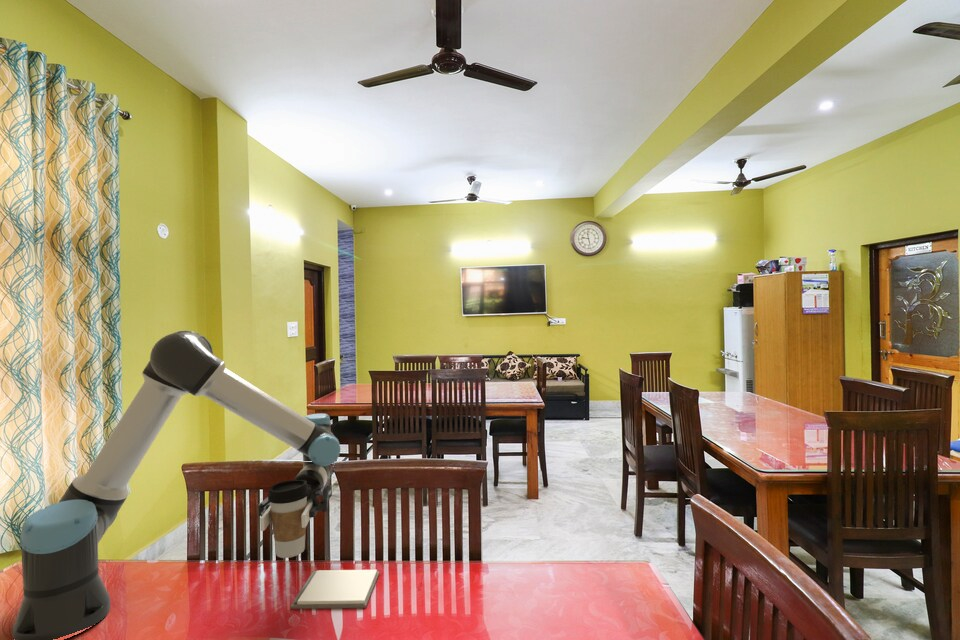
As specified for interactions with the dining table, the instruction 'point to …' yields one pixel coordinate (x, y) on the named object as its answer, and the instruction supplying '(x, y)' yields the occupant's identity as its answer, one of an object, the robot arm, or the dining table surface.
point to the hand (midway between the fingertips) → (282, 522)
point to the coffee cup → (288, 516)
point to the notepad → (336, 589)
